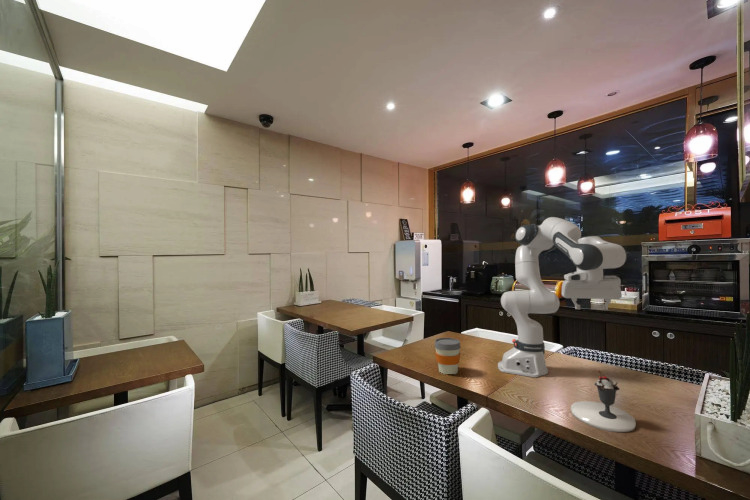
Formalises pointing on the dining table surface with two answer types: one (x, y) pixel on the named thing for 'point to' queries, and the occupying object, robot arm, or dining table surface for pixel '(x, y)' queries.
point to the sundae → (606, 395)
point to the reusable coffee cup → (447, 355)
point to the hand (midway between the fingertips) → (591, 309)
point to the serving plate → (591, 416)
